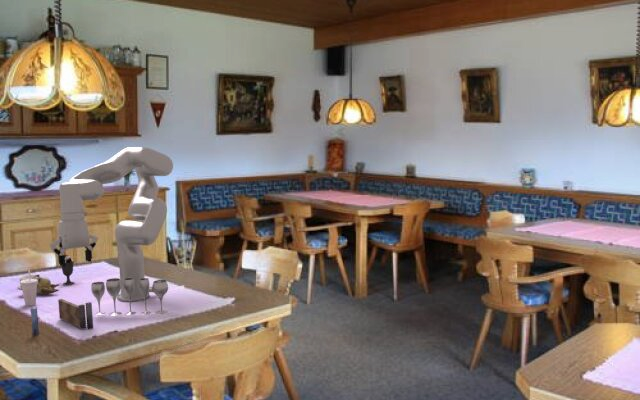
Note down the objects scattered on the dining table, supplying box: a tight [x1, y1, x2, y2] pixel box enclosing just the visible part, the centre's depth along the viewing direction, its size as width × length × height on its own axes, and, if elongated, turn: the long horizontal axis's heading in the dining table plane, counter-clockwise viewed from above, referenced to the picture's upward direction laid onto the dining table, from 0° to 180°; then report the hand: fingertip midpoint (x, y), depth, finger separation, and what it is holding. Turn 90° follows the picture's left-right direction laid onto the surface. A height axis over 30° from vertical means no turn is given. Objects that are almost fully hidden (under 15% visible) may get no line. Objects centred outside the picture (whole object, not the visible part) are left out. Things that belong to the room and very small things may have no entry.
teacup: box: [17, 274, 36, 290], centre depth 278 cm, size 10×10×5 cm
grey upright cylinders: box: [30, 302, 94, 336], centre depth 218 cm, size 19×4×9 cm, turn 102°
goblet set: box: [91, 277, 169, 317], centre depth 237 cm, size 28×6×13 cm, turn 92°
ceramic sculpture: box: [19, 274, 60, 295], centre depth 266 cm, size 11×9×15 cm
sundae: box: [61, 253, 75, 286], centre depth 281 cm, size 7×7×15 cm
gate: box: [57, 298, 87, 330], centre depth 226 cm, size 18×2×8 cm, turn 47°
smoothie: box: [19, 269, 38, 307], centre depth 250 cm, size 6×6×14 cm
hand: (75, 263), depth 230 cm, fingers open, 9 cm apart
